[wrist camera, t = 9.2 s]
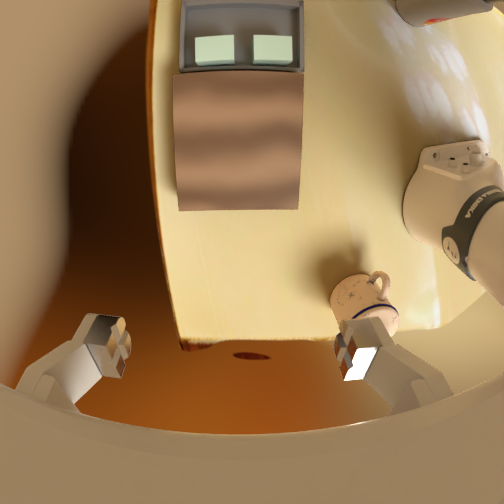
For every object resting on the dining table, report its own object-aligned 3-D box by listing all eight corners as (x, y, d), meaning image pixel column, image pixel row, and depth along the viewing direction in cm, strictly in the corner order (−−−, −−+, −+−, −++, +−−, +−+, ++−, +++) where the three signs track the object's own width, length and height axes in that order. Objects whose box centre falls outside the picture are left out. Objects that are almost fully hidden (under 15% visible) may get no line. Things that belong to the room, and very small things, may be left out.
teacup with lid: (363, 317, 47) (387, 364, 37) (320, 312, 46) (338, 364, 35) (392, 261, 42) (428, 304, 31) (347, 251, 40) (379, 298, 30)
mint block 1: (234, 59, 23) (233, 34, 22) (195, 62, 23) (195, 37, 22) (234, 65, 27) (234, 43, 25) (200, 67, 27) (200, 45, 25)
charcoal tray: (299, 74, 28) (304, 71, 26) (183, 74, 28) (179, 72, 25) (298, 7, 24) (303, 0, 21) (185, 7, 23) (181, 0, 21)
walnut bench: (291, 199, 36) (297, 209, 33) (184, 200, 35) (178, 211, 32) (296, 77, 28) (303, 73, 25) (179, 78, 28) (172, 74, 24)
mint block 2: (292, 60, 24) (291, 36, 22) (254, 59, 23) (253, 34, 22) (286, 66, 27) (285, 44, 26) (252, 65, 27) (251, 43, 26)
